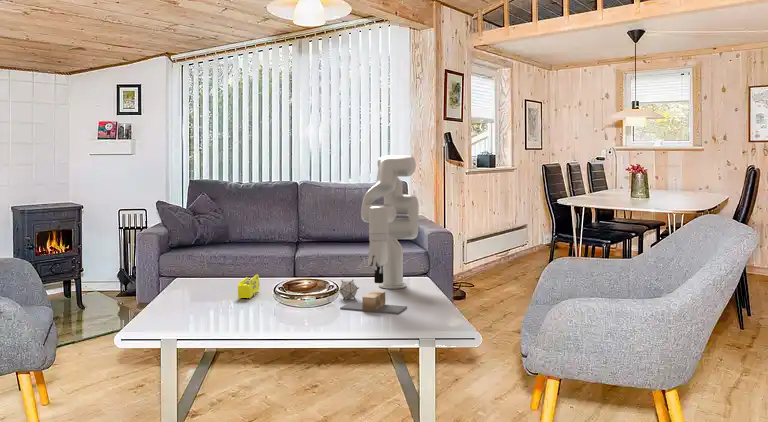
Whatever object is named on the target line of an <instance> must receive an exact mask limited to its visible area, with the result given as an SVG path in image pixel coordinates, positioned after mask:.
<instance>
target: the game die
mask: <svg viewBox="0 0 768 422" xmlns="http://www.w3.org/2000/svg"><path fill="white" fill-rule="evenodd" d="M358 289H360V287H358V286H357V285H356V284H355V282H354V279H352V280H347V281H344V280H342V279H341V284H340V287H339V290H338V291H339V292H338V293H340V295H341V296H342V297H343V299H342V300H343V301H344V300H345V299H354V300H356V294H357V292H358Z"/></svg>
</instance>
